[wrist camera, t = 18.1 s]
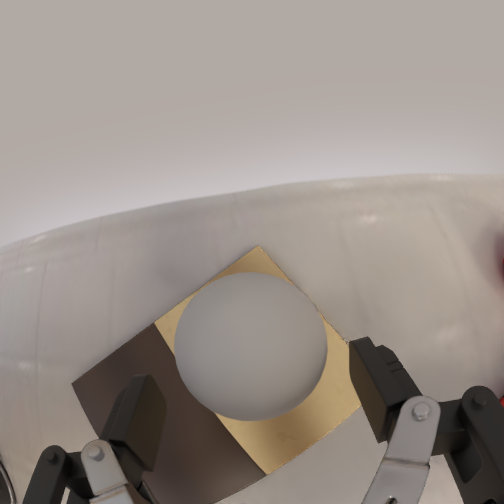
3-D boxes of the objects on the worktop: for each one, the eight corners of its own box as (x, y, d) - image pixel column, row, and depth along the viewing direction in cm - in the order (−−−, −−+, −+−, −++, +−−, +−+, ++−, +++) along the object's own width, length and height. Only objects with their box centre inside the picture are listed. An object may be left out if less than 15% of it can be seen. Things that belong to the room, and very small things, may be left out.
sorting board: (163, 522, 13) (161, 524, 13) (74, 383, 19) (71, 383, 18) (380, 384, 17) (382, 385, 16) (258, 247, 22) (258, 244, 22)
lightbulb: (328, 363, 17) (380, 340, 8) (258, 422, 16) (224, 469, 6) (270, 300, 20) (252, 212, 10) (202, 354, 19) (117, 319, 9)
